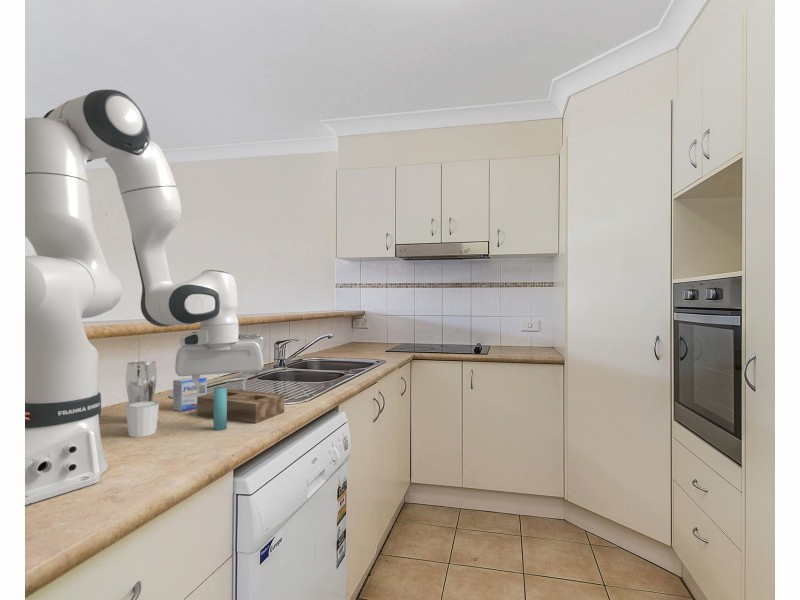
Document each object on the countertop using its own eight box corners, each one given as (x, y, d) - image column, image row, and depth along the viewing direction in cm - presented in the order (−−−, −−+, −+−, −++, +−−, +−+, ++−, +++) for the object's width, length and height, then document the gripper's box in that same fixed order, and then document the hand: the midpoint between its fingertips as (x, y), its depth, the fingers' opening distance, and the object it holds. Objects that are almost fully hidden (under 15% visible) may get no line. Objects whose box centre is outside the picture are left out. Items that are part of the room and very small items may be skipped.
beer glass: (152, 421, 111) (153, 364, 111) (121, 424, 109) (122, 365, 109) (158, 415, 118) (159, 360, 118) (129, 416, 116) (130, 361, 116)
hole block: (255, 423, 111) (255, 404, 111) (197, 415, 118) (197, 396, 118) (284, 412, 122) (284, 394, 122) (229, 405, 129) (229, 388, 129)
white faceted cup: (143, 438, 98) (143, 408, 98) (118, 436, 99) (118, 406, 99) (165, 429, 104) (166, 401, 104) (141, 428, 106) (141, 399, 106)
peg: (220, 431, 104) (220, 389, 104) (210, 429, 105) (211, 388, 105) (229, 427, 107) (229, 387, 107) (220, 426, 108) (220, 386, 108)
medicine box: (181, 412, 121) (181, 381, 121) (172, 409, 124) (172, 379, 124) (207, 406, 128) (207, 377, 128) (198, 404, 130) (198, 375, 130)
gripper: (264, 332, 112) (266, 385, 112) (179, 336, 107) (181, 392, 107) (262, 334, 106) (264, 390, 106) (172, 339, 101) (174, 397, 101)
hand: (221, 391), depth 107 cm, fingers open, 8 cm apart
